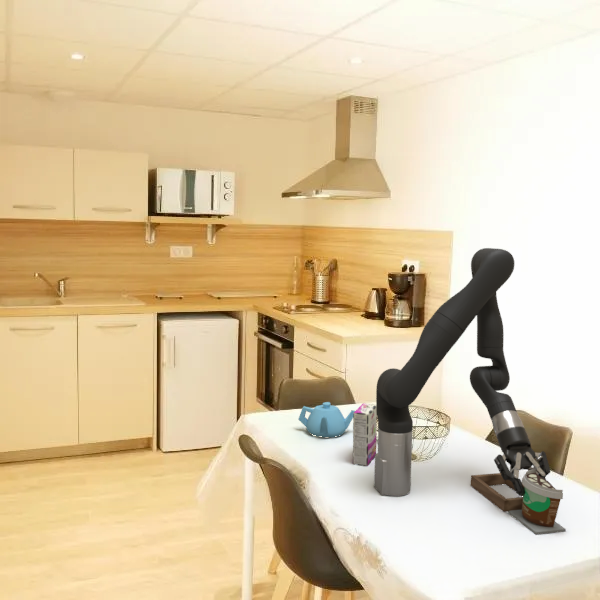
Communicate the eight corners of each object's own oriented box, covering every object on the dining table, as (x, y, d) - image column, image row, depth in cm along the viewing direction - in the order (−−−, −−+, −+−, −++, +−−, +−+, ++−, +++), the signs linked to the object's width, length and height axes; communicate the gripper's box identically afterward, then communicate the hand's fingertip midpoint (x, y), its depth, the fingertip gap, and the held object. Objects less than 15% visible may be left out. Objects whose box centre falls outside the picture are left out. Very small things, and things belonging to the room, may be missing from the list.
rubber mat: (535, 534, 155) (536, 532, 155) (508, 513, 166) (508, 510, 166) (565, 531, 157) (565, 529, 157) (536, 510, 168) (536, 508, 168)
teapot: (329, 423, 240) (329, 395, 239) (357, 434, 228) (357, 404, 227) (295, 431, 231) (296, 401, 230) (323, 442, 219) (323, 411, 218)
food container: (507, 505, 167) (513, 468, 165) (529, 505, 168) (535, 468, 166) (533, 530, 155) (540, 491, 153) (556, 530, 156) (564, 491, 154)
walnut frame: (503, 512, 167) (504, 500, 167) (470, 485, 184) (470, 475, 183) (543, 508, 170) (544, 496, 169) (506, 482, 186) (507, 472, 186)
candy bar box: (361, 452, 209) (362, 402, 207) (376, 455, 208) (377, 404, 206) (351, 464, 199) (352, 411, 197) (367, 466, 197) (369, 413, 195)
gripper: (491, 426, 167) (514, 490, 157) (541, 423, 171) (567, 485, 161) (479, 440, 173) (501, 502, 163) (528, 437, 177) (552, 497, 167)
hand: (534, 493), depth 162 cm, fingers open, 6 cm apart
